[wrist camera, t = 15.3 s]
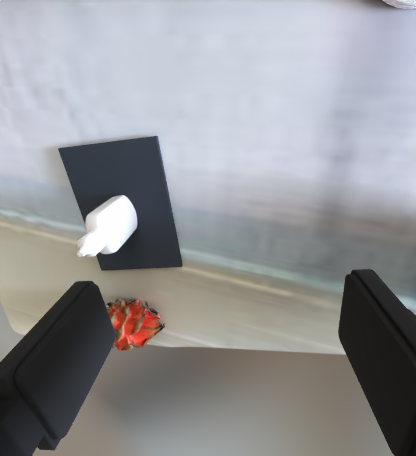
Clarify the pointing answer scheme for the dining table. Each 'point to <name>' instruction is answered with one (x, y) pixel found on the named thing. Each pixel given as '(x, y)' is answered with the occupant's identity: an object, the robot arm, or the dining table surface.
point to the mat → (131, 188)
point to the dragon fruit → (133, 324)
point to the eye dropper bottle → (108, 227)
